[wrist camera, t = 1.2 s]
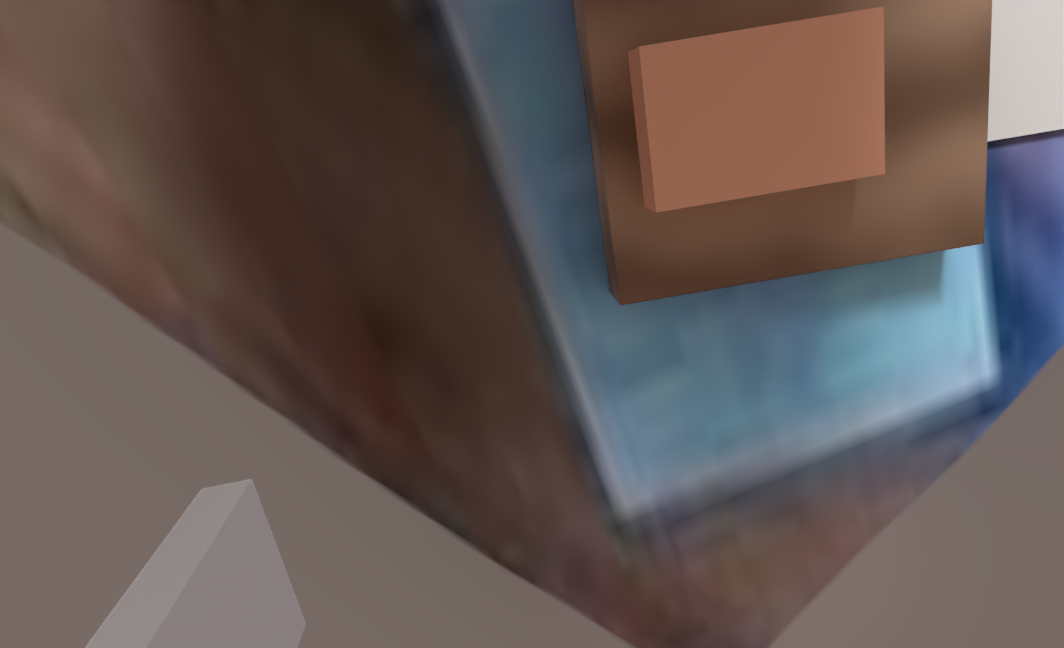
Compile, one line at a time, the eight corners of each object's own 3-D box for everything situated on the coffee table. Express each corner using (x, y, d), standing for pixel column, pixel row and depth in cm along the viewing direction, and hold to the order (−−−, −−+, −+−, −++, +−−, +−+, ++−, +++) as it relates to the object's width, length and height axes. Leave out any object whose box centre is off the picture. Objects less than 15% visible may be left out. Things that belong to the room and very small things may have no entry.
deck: (567, -40, 28) (575, -56, 25) (952, -102, 28) (996, -124, 25) (610, 291, 32) (620, 305, 29) (946, 234, 32) (984, 243, 29)
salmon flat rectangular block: (644, 206, 28) (656, 212, 26) (627, 52, 26) (639, 46, 24) (857, 170, 28) (885, 173, 26) (854, 14, 26) (883, 6, 25)
